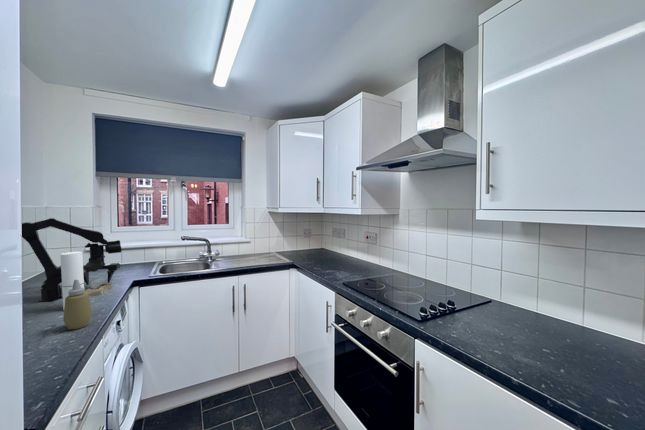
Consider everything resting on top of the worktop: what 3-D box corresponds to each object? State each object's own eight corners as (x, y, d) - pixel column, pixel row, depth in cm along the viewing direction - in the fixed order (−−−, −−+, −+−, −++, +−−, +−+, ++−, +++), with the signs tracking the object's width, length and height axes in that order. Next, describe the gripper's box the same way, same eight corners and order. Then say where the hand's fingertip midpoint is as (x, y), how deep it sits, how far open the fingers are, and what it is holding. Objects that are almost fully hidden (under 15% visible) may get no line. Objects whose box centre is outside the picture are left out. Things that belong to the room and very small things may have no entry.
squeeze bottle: (97, 321, 106) (95, 277, 105) (80, 331, 98) (77, 283, 97) (77, 321, 106) (74, 277, 105) (57, 331, 97) (54, 283, 97)
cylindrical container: (83, 303, 125) (80, 250, 123) (86, 307, 120) (83, 252, 119) (62, 308, 119) (59, 253, 118) (64, 312, 115) (61, 255, 113)
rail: (100, 294, 137) (100, 289, 136) (83, 296, 134) (83, 291, 134) (112, 286, 150) (111, 282, 150) (96, 287, 147) (96, 283, 147)
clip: (98, 293, 139) (97, 282, 138) (91, 293, 138) (90, 282, 137) (105, 288, 146) (104, 277, 146) (98, 289, 145) (97, 278, 145)
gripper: (66, 259, 130) (67, 290, 131) (111, 256, 137) (113, 286, 137) (78, 255, 141) (79, 283, 142) (120, 252, 147) (121, 280, 148)
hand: (98, 283), depth 142 cm, fingers open, 9 cm apart
